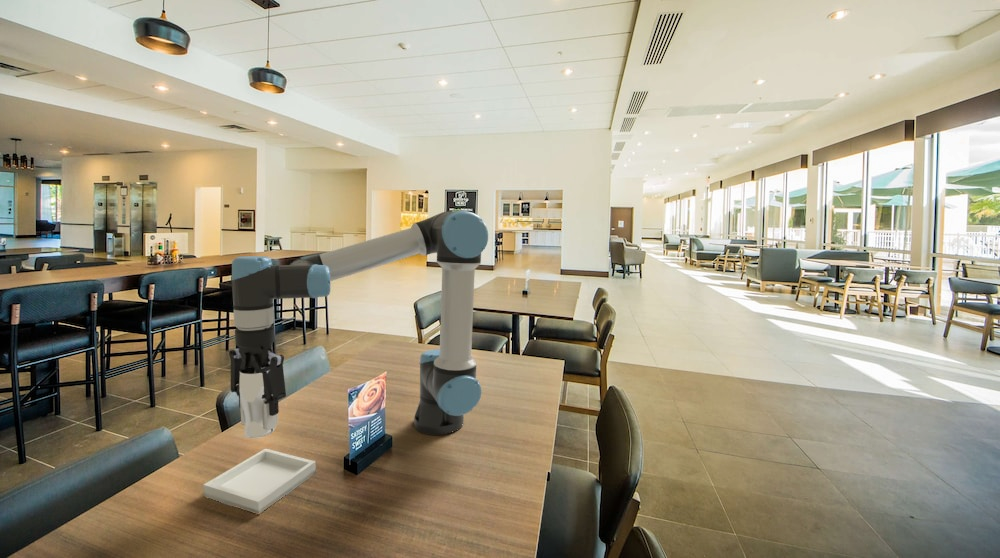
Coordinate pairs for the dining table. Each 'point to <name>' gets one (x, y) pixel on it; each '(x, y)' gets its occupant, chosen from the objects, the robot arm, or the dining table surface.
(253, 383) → the beer glass
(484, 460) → the dining table surface
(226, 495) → the tray
